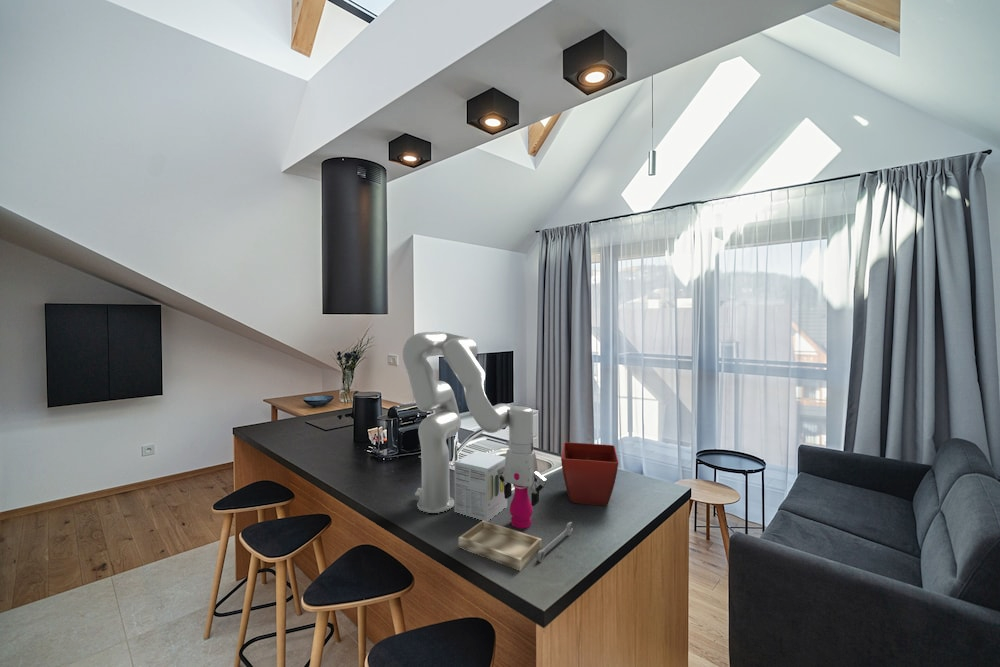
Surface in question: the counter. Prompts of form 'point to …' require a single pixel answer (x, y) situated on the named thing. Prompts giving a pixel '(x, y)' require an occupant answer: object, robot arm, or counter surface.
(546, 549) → the combination wrench
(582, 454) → the plant pot
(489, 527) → the wooden tray
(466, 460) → the supplement box
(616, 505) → the counter surface
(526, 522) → the pepper mill
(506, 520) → the counter surface
